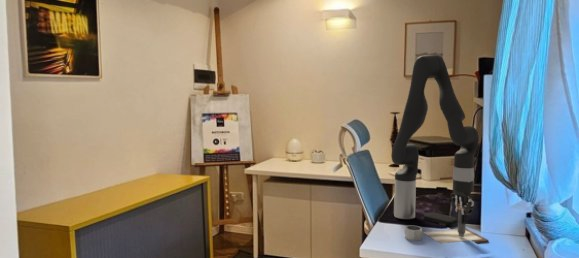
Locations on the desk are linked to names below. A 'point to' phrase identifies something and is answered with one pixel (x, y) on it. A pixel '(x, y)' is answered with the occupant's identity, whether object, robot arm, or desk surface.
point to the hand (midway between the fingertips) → (461, 222)
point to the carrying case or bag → (441, 219)
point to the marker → (460, 226)
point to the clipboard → (455, 236)
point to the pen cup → (413, 233)
